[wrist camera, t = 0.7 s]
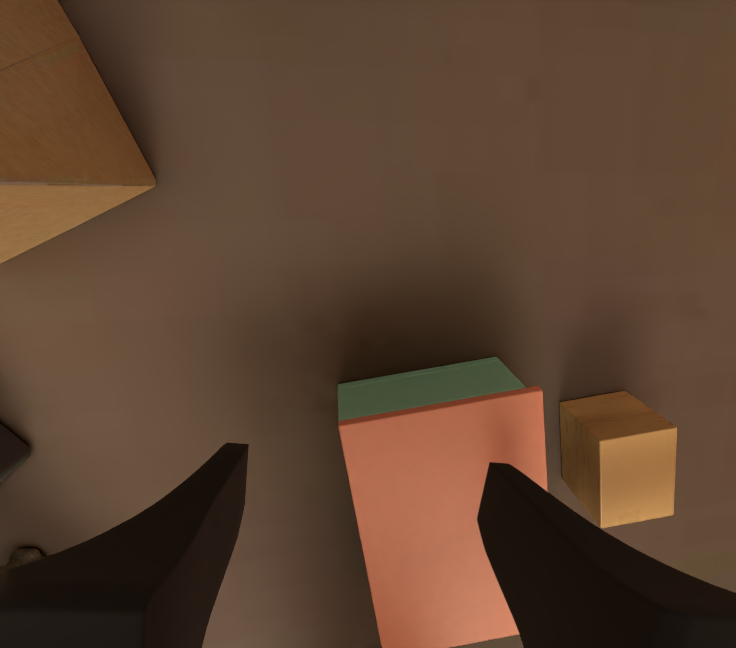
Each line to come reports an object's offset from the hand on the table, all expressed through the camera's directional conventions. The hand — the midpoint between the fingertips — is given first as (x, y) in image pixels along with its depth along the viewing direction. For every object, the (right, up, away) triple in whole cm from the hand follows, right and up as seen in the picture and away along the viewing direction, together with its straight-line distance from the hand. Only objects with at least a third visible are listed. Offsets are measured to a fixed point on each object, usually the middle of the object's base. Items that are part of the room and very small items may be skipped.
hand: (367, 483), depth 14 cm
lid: (+4, -5, +8) cm, 10 cm away
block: (+12, -1, +12) cm, 17 cm away
